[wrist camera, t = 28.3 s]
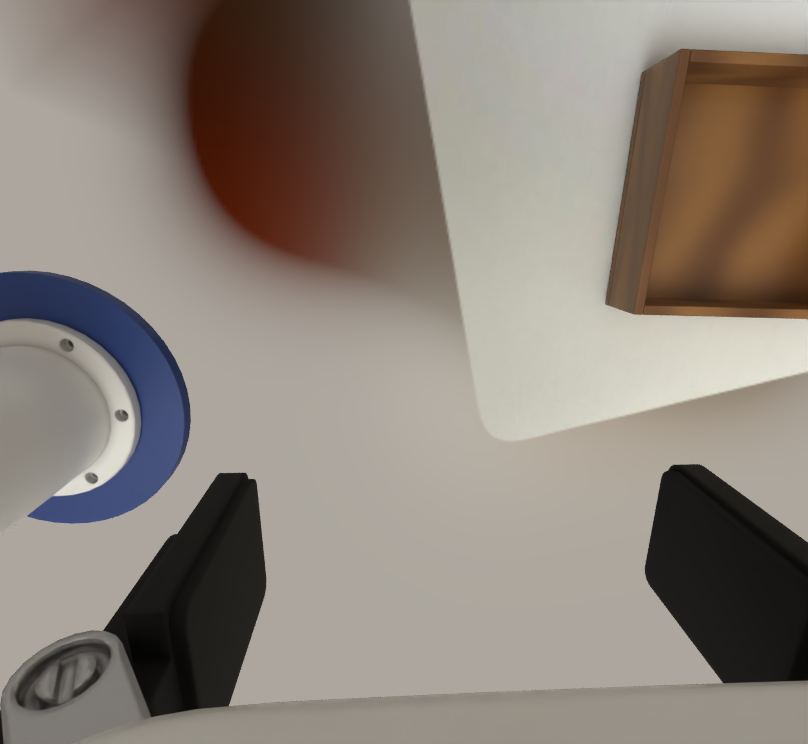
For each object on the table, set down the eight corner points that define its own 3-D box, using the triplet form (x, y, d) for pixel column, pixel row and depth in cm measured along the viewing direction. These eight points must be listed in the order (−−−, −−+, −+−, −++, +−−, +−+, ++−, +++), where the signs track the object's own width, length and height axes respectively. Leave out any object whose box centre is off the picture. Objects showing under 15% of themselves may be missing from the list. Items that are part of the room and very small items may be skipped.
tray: (604, 304, 32) (633, 314, 29) (641, 72, 28) (680, 48, 24) (814, 310, 33) (870, 320, 29) (880, 83, 29) (955, 61, 25)
